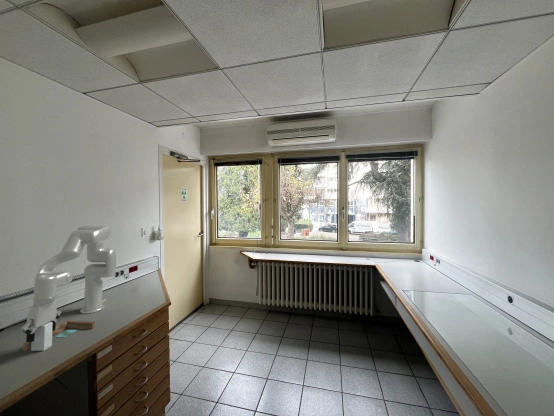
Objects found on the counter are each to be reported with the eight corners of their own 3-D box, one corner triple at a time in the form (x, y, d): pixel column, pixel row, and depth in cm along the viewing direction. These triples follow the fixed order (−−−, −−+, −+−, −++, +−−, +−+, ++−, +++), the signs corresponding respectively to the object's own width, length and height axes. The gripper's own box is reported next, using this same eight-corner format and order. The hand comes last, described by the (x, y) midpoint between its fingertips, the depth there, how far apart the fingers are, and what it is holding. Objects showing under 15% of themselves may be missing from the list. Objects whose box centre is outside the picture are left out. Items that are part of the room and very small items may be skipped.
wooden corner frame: (66, 326, 125) (67, 320, 125) (94, 327, 125) (94, 321, 125) (23, 350, 103) (23, 343, 103) (56, 351, 103) (57, 344, 103)
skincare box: (52, 345, 108) (54, 321, 108) (43, 351, 103) (45, 326, 104) (39, 345, 107) (40, 321, 107) (29, 351, 103) (31, 326, 103)
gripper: (54, 294, 114) (51, 326, 113) (15, 308, 97) (12, 346, 96) (68, 294, 114) (66, 327, 114) (32, 308, 97) (29, 346, 96)
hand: (41, 335), depth 105 cm, fingers open, 9 cm apart
